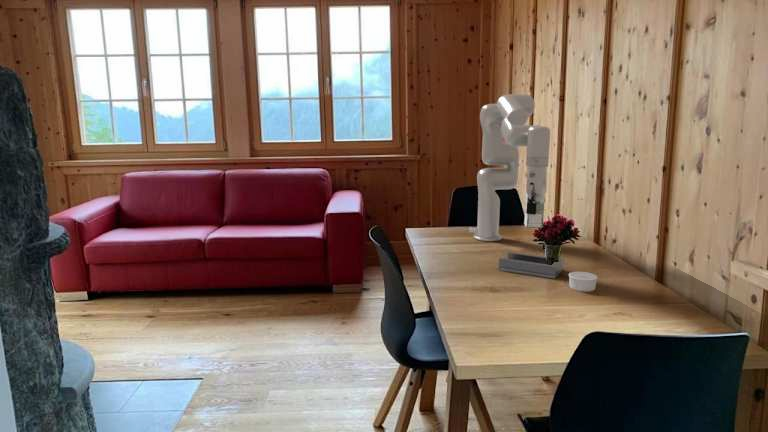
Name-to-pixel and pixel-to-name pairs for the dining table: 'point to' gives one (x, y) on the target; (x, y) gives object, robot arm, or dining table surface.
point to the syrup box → (536, 219)
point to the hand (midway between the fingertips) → (534, 211)
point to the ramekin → (582, 281)
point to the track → (530, 265)
